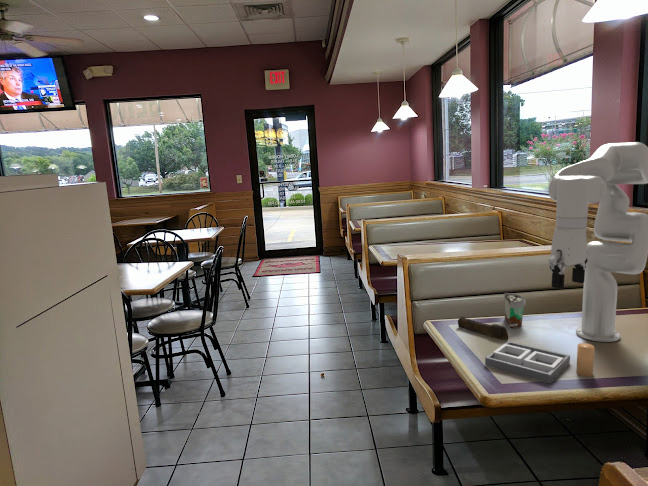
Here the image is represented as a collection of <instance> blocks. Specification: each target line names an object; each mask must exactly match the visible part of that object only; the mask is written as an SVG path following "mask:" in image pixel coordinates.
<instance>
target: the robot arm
mask: <svg viewBox="0 0 648 486" xmlns="http://www.w3.org/2000/svg"><path fill="white" fill-rule="evenodd" d="M647 184H648V145H646V144H644V143H643V142H639V141H634V142H611V143H606V144H603V145H600V147H597V149H596V150H595V151H594V152H593V153H592V154H591V155H590V156H589V158H588V159H586V160H582V161H579V162H577V163H574V164H571V165H568V166H566V167H563V168H561V169H560V170H559V171H558V172H557V173H556V174H555V175H554V176H552V179H551V180H550V182H549V184H548V189H547V191H548V192H547V193H548V196H549V198H550V199H551V201H553V202H556V209H555V211H556V212H555V229H554V231H553V236H552V240H551V248H550V257H549V258H548V264H549V269H550V273H551V287H552V288H555V289H560V290H563V289H564V288H565V273H564V272H565V269H566V268H567V267H572V266H573V267H572V273H571V274H572V275H571V276H572V278H571V281H572V282H573V283H577V284H583V290H582V291H583V292H582V307H581V309H582V311H581V326H578V327H576V328H575V334H576V335H577V336H579V337H580V338H582V339H585V340H589V341H594V342H599V343H613V342H617V341H619V340H620V339H621V334H620V332H618V331H617V330H616V320H617V319H616V317H617V300H618V283H617V280H616V279H615V277H614V276H613V274H612V273H617V274H618V273H619V274H624V275H625V274H627V275H639V274H641V273H642V272H643V271H644V270H645V267H646V265H647V261H648V214H647V213H644V212H639V211H638V212H635V211H629V208H630V203H631V201H630V197H629V196H628V195H627V193H626V192H625V191H624V190H623V189H622V188H621V187H620V186H619V185H647ZM596 203H599V204H598V208H597V211H596V215H595V220H594V224H593V234H594V236H595V237H596V238H597V239H600V240H592V241H590V242H588V241H587V238H588V237H587V229H588V213H589V204H596ZM603 240H604V241H603Z"/></svg>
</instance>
